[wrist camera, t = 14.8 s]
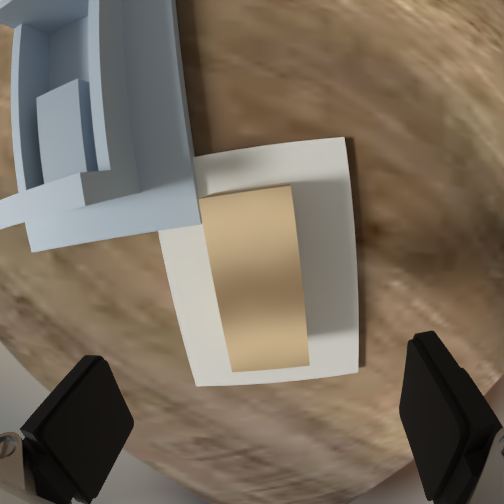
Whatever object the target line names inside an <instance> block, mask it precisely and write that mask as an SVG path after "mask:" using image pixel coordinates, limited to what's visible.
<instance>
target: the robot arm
mask: <svg viewBox="0 0 504 504" xmlns="http://www.w3.org/2000/svg"><path fill="white" fill-rule="evenodd" d="M399 413H400V418H401V421H402V424H403V426H404V429H405V432H406V435H407V438H408V441H409V444H410V447H411V450H412V453H413V456H414V459H415V462H416V465H417V468H418V472H419V475H420V478H421V481H422V485H423V488H424V492H425V495H426V498H427V500H428V501H431V500H433V502H434V504H504V427H503V426H502V425H501V423H500V422H499V420H498V418H497V417H496V415H495V414H494V412H493V410H492V409H491V407H490V406H489V404H488V403H487V401H486V400H485V398H484V396H483V395H482V393H481V392H480V390H479V389H478V387H477V386H476V384H475V383H474V382H473V380H472V379H471V377H470V376H469V374H468V373H467V371H466V370H465V369H464V368H460V366H459V365H458V364H457V362H456V361H455V359H454V358H453V356H452V355H451V354H450V352H449V351H448V349H447V348H446V347H445V345H444V344H443V342H442V341H441V340H440V338H439V337H438V336H437V334H436V333H435V332H434V331H427V332H422V333H417V334H415V335H414V337H413V339H411V340H409V341H408V346H407V355H406V364H405V372H404V379H403V386H402V393H401V399H400V405H399ZM133 426H134V420H133V417H132V415H131V413H130V411H129V409H128V407H127V405H126V403H125V401H124V398H123V396H122V394H121V392H120V390H119V387H118V385H117V383H116V380H115V378H114V376H113V373H112V371H111V369H110V366H109V364H108V362H107V361H105V360H104V358H103V357H102V356H95V355H85V356H84V357H83V358H82V359H81V360H80V361H79V362H78V363H77V364H76V365H75V367H74V368H73V369H72V370H71V371H70V372H69V373H68V374H67V375H66V377H65V378H64V379H63V380H62V381H61V382H60V383H59V384H58V385H57V387H56V388H55V389H54V390H53V391H52V392H51V393H50V395H49V396H48V397H47V398H46V399H45V400H44V402H43V403H42V404H41V405H40V406H39V407H38V409H37V410H36V411H35V412H34V413H33V414H32V415H31V417H30V418H29V419H28V420H27V421H26V422H25V424H24V425H23V426H22V427H21V428H20V430H21V432H22V433H23V435H24V436H25V438H24V440H22V438H21V437H20V436H19V435H18V434H16V433H14V432H6V433H3V434H0V504H72V502H71V500H72V498H73V497H74V499H75V500H77V501H78V502H81V503H84V504H90V503H91V501H92V499H93V498H96V497H97V496H98V494H99V492H100V490H101V488H102V486H103V484H104V482H105V480H106V478H107V476H108V474H109V472H110V471H111V469H112V467H113V465H114V463H115V461H116V459H117V457H118V455H119V453H120V452H121V450H122V448H123V446H124V444H125V442H126V440H127V438H128V436H129V435H130V433H131V431H132V429H133Z"/></svg>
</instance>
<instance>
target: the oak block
mask: <svg viewBox="0 0 504 504" xmlns="http://www.w3.org/2000/svg"><path fill="white" fill-rule="evenodd" d="M199 205H200V211H201V217H202V223H203V229H204V234H205V240H206V245H207V251H208V256H209V261H210V267H211V272H212V277H213V282H214V288H215V293H216V298H217V303H218V308H219V313H220V318H221V322H222V327H223V332H224V337H225V341H226V346H227V351H228V355H229V360H230V364H231V369H232V372H245V371H259V370H272V369H283V368H293V367H302V366H310V363H309V350H308V338H307V326H306V315H305V305H304V294H303V285H302V275H301V266H300V257H299V248H298V239H297V231H296V223H295V215H294V207H293V199H292V192H291V185H290V184H289V182H287V183H279V184H272V185H264V186H257V187H250V188H243V189H236V190H229V191H223V192H217V193H212V194H209V195H207V196H205V197H202V198H200V199H199Z"/></svg>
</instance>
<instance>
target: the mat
mask: <svg viewBox="0 0 504 504" xmlns="http://www.w3.org/2000/svg"><path fill="white" fill-rule="evenodd" d="M193 163H194V170H195V176H196V183H197V189H198V195H199V199H200V198H202V197H205V196H207V195H209V194H212V193H217V192H223V191H229V190H236V189H243V188H250V187H257V186H264V185H272V184H279V183H287V182H289V184H290V185H291V192H292V199H293V207H294V215H295V223H296V231H297V239H298V248H299V257H300V266H301V275H302V285H303V294H304V305H305V315H306V326H307V338H308V350H309V363H310V366H302V367H293V368H283V369H272V370H259V371H245V372H232V369H231V364H230V360H229V355H228V351H227V346H226V341H225V337H224V332H223V327H222V322H221V318H220V313H219V308H218V303H217V298H216V293H215V288H214V282H213V277H212V272H211V267H210V261H209V256H208V251H207V245H206V240H205V234H204V229H203V223H202V224H201V225H194V226H187V227H180V228H173V229H167V230H160V231H158V233H159V238H160V243H161V248H162V253H163V257H164V262H165V267H166V271H167V276H168V280H169V284H170V289H171V293H172V297H173V301H174V306H175V310H176V314H177V318H178V322H179V326H180V329H181V333H182V337H183V341H184V344H185V348H186V352H187V355H188V359H189V363H190V366H191V370H192V373H193V376H194V380H195V383H196V386H225V385H246V384H262V383H275V382H286V381H296V380H306V379H315V378H323V377H330V376H338V375H345V374H351V373H358V358H359V312H358V278H357V258H356V241H355V228H354V216H353V205H352V194H351V185H350V176H349V168H348V160H347V152H346V145H345V138H344V137H339V138H327V139H317V140H307V141H298V142H289V143H281V144H273V145H266V146H258V147H251V148H245V149H238V150H232V151H226V152H220V153H214V154H208V155H203V156H197V157H193Z"/></svg>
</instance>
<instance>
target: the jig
mask: <svg viewBox="0 0 504 504" xmlns="http://www.w3.org/2000/svg"><path fill="white" fill-rule="evenodd" d="M0 23H1V24H4V25H6V26H9V27H12V28H15V29H14V39H13V51H12V68H11V120H12V137H13V150H14V160H15V169H16V177H17V184H18V191H19V193H18V194H15V195H12V196H10V197H7V198H4V199H2V200H0V229H2V228H5V227H9V226H12V225H16V224H19V223H23V222H25V225H26V230H27V234H28V239H29V243H30V247H31V252H37V251H43V250H48V249H53V248H59V247H64V246H70V245H76V244H81V243H87V242H93V241H99V240H104V239H110V238H116V237H122V236H129V235H135V234H141V233H147V232H154V231H160V230H167V229H173V228H180V227H187V226H194V225H201V224H202V217H201V211H200V205H199V195H198V189H197V183H196V176H195V170H194V163H193V157H195V154H194V147H193V140H192V133H191V126H190V119H189V112H188V104H187V97H186V89H185V81H184V73H183V65H182V56H181V48H180V39H179V30H178V20H177V10H176V0H0Z"/></svg>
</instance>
